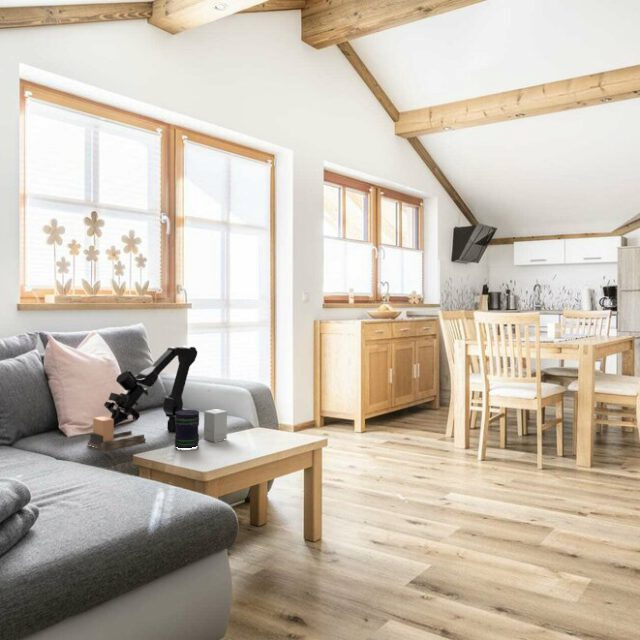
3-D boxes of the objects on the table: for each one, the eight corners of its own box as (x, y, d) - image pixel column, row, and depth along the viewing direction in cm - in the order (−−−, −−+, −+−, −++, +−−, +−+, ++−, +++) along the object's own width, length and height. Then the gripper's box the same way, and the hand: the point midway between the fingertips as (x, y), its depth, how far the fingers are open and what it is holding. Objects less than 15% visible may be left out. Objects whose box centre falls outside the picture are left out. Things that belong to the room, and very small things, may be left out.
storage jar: (169, 448, 268) (170, 413, 267) (183, 443, 277) (183, 408, 276) (190, 451, 265) (191, 415, 263) (203, 446, 274) (204, 411, 272)
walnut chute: (128, 436, 285) (128, 424, 284) (145, 441, 277) (145, 429, 277) (87, 445, 269) (87, 432, 269) (104, 451, 262) (104, 437, 261)
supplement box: (227, 439, 285) (227, 411, 284) (213, 442, 280) (214, 413, 279) (216, 436, 290) (217, 408, 289) (203, 439, 285) (203, 410, 284)
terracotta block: (103, 439, 272) (103, 416, 271) (113, 442, 268) (113, 419, 267) (92, 441, 268) (93, 418, 267) (102, 445, 264) (102, 420, 263)
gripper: (107, 382, 278) (84, 411, 270) (134, 388, 267) (110, 419, 259) (123, 398, 285) (100, 427, 277) (149, 404, 273) (127, 435, 266)
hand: (109, 426), depth 269 cm, fingers closed, pressing on terracotta block
